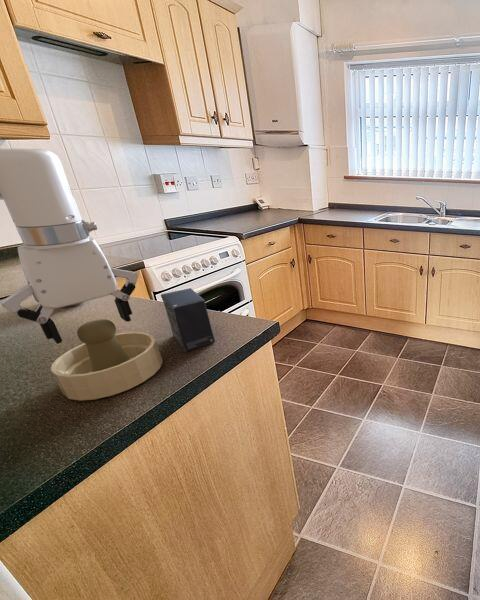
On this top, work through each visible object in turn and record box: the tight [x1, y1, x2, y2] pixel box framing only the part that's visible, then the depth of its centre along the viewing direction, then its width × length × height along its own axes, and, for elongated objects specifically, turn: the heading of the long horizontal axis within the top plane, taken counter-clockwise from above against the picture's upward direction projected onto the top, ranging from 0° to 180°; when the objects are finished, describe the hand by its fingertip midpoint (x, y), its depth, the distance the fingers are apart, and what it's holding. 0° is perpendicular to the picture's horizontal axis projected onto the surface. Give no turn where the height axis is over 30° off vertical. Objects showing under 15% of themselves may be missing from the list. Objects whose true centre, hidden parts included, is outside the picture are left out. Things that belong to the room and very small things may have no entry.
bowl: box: [50, 331, 163, 401], centre depth 63 cm, size 15×15×6 cm
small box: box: [160, 287, 216, 353], centre depth 75 cm, size 11×6×10 cm, turn 44°
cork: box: [76, 318, 130, 372], centre depth 62 cm, size 6×6×11 cm
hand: (93, 329), depth 60 cm, fingers open, 9 cm apart
